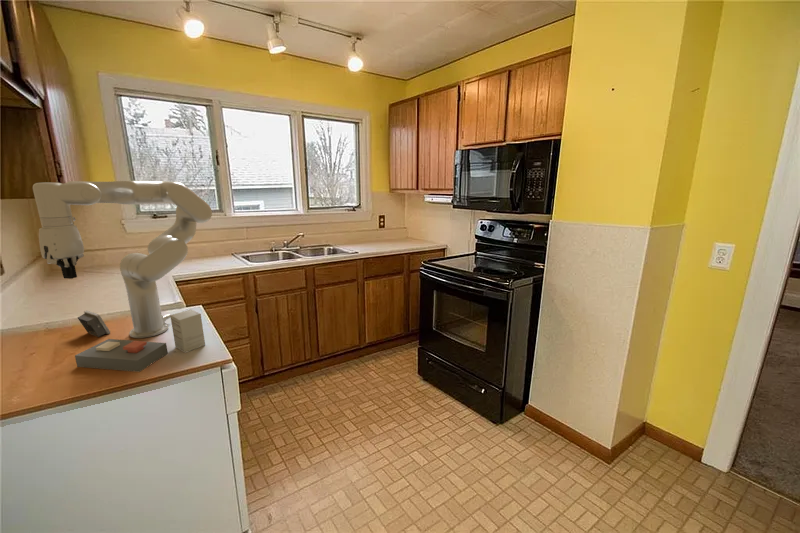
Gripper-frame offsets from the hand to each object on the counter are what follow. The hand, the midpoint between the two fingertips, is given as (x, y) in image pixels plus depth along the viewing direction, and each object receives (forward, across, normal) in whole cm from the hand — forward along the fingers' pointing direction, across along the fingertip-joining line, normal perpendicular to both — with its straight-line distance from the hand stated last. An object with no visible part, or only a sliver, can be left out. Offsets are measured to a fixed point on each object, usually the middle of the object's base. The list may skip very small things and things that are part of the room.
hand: (70, 277), depth 116 cm
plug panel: (+27, +3, +17) cm, 32 cm away
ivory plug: (+26, +3, +12) cm, 29 cm away
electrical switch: (+27, -13, -10) cm, 32 cm away
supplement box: (+27, -9, +32) cm, 43 cm away
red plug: (+25, +3, +22) cm, 33 cm away
